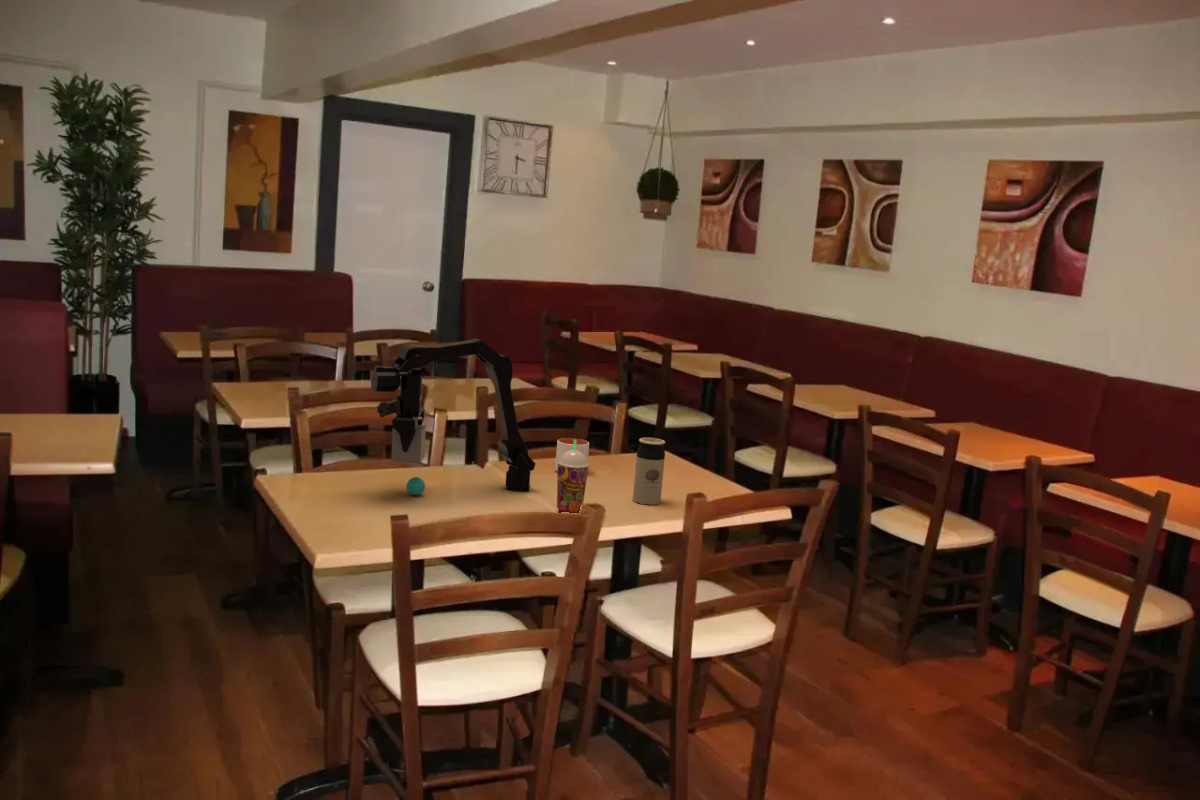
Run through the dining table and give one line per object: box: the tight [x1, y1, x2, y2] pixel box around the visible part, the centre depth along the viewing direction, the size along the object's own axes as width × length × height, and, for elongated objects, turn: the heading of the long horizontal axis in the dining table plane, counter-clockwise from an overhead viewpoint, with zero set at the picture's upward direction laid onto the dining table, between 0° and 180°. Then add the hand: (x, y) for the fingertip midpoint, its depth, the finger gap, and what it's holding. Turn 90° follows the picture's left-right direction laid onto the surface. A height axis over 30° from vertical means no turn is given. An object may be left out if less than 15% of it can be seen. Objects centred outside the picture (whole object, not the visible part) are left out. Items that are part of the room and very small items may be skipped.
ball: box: [406, 476, 426, 496], centre depth 277 cm, size 5×5×5 cm
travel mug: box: [632, 437, 666, 505], centre depth 290 cm, size 8×8×18 cm
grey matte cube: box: [390, 424, 427, 464], centre depth 275 cm, size 8×8×9 cm
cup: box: [554, 437, 590, 472], centre depth 318 cm, size 10×10×10 cm
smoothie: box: [556, 440, 590, 513], centre depth 271 cm, size 8×8×20 cm
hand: (407, 448), depth 275 cm, fingers closed on grey matte cube, 8 cm apart
